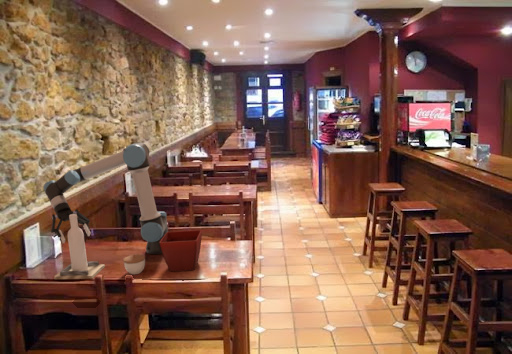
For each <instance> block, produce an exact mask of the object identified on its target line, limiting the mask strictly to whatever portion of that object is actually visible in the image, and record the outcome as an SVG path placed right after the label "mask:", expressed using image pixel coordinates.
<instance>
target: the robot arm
mask: <svg viewBox="0 0 512 354" xmlns="http://www.w3.org/2000/svg"><path fill="white" fill-rule="evenodd" d="M149 156H150V149H149V147H148V146H147V145H146V144H145V143H143V142H142V141H141V142H140V141H138V142H133V143H132V144H128V145H127V146H126V147H124V148H123V149H122V151H120V152H116V153H114V154H112V155H109V156H107V157H104V158H102V159H98V160H96V161H93V162H91V163H89V164H85V165H84V166H81V167H79V168H74V169H70V170H69V171H67V172H65V173H64V174H63V175H62V176H61V177H59V178H58V179H57V180H55V179H54V180H53V179H50V180H49V181H46V182H45V183H44V184H43V190H44V193H45V195H46V197H47V198H48V201H49V203H50V205H51V206H52V209H53V211H54V212H55V214H52V216H51V220H52V222H51V227H50V228H51V229H50V233H51V234H53V233H54V234H56V235H57V238H60V240H61V243H62V244H65V242H66V238H65V236H64V233H63V231H62V230H61V229H60V228H61V226H62V223H63V222H70V219H69V215H71V214H77V221H78V224H80V225H82V228H83V229H84V231H85V233H86V235H87V237H90V236H91V233H92V232H91V231H90V225H89V223H90V221H91V220H90V219H89V218H88V217H87V216H85V215H84V214H82V213H81V212H80V211H79V209H75V210H72V209H71V206H70V205H69V203H68V201H67V199H66V197H65V196H64V194H65V193H66V192H67V191H68V190H70V189H71V188H72V187H74V186H76V185H77V184H79V183H81V182H85V181H86V180H89V179H92V178H94V177H97V176H99V175H102V174H104V173H107V172H109V171H112V170H115V169H118V168H120V167H123V166H125V165H126V167H127V168H126V169H127V171H128V172H129V173H131V177H132V180H133V185H134V188H135V189H134V190H135V193H136V198H137V202H138V206H139V210H140V215H141V216H140V217H139V223H140V235H141V236H140V237H141V238H142V239H143V240H144V241H146V247H145V252H146V253H147V254H149V255H163V254H162V251H161V247H160V243H159V242H160V241H161V239H162V238H163V237H164V235H165V234H166V233H167V232H169V231H168V230H169V229H168V219H167V216H168V215H167V212H165V211H158V210H157V205H156V200H155V196H154V192H153V188H152V187H153V186H152V184H151V179H150V178H151V177H150V175H149V168H150V166H151V165H150V162H149ZM57 219H58V220H59V222H58V224H57V226H56V220H57Z"/></svg>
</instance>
